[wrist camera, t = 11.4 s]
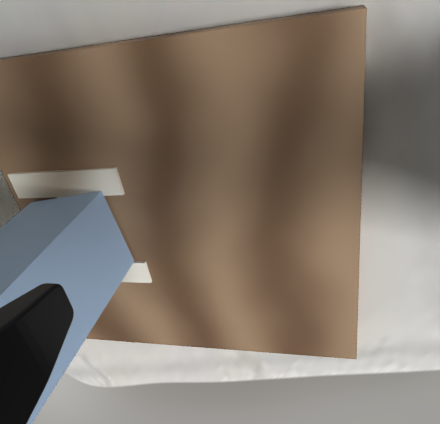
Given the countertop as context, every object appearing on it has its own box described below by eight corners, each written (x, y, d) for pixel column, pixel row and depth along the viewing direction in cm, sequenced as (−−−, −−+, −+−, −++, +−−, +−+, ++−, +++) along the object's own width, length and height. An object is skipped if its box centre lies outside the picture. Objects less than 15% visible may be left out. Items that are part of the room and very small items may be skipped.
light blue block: (101, 190, 22) (-107, 406, 11) (134, 261, 24) (-14, 495, 14) (31, 202, 24) (-210, 400, 13) (68, 267, 26) (-110, 480, 15)
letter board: (364, 5, 16) (367, 8, 15) (355, 344, 26) (356, 361, 25) (-30, 63, 21) (-51, 68, 20) (88, 326, 31) (79, 340, 30)
